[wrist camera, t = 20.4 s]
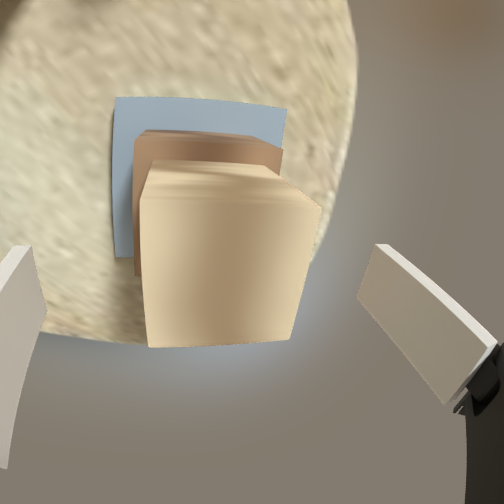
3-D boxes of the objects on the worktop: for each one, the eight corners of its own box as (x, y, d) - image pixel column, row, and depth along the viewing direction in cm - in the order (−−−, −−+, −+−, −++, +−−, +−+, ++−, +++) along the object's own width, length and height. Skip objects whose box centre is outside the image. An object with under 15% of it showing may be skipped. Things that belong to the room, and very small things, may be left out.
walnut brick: (142, 229, 23) (135, 275, 17) (145, 129, 20) (134, 140, 14) (239, 231, 25) (262, 275, 20) (251, 135, 22) (283, 149, 16)
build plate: (118, 249, 25) (115, 257, 24) (119, 97, 19) (115, 97, 18) (259, 249, 29) (263, 257, 27) (280, 108, 23) (286, 109, 22)
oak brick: (152, 261, 17) (148, 347, 11) (153, 159, 14) (139, 200, 9) (250, 261, 19) (289, 339, 13) (264, 165, 16) (322, 208, 10)
